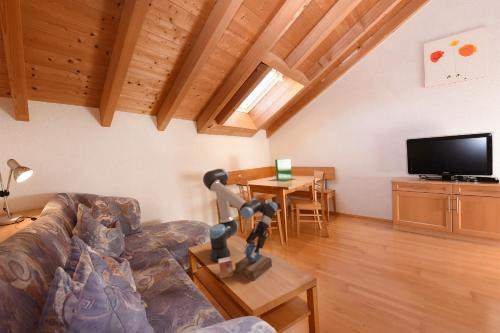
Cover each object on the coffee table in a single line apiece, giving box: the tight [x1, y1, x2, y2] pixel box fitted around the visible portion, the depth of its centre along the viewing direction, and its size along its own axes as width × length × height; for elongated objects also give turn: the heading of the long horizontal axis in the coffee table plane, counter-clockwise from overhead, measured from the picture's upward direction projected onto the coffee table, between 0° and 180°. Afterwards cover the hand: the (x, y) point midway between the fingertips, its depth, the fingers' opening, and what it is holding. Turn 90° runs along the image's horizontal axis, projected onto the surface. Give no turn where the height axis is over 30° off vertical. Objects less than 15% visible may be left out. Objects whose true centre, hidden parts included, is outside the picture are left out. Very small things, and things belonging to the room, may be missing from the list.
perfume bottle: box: [245, 239, 261, 262], centre depth 144 cm, size 6×6×12 cm
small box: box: [217, 256, 234, 279], centre depth 141 cm, size 8×6×10 cm
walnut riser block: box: [234, 253, 273, 281], centre depth 145 cm, size 16×18×6 cm
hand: (248, 255), depth 142 cm, fingers closed on perfume bottle, 6 cm apart
